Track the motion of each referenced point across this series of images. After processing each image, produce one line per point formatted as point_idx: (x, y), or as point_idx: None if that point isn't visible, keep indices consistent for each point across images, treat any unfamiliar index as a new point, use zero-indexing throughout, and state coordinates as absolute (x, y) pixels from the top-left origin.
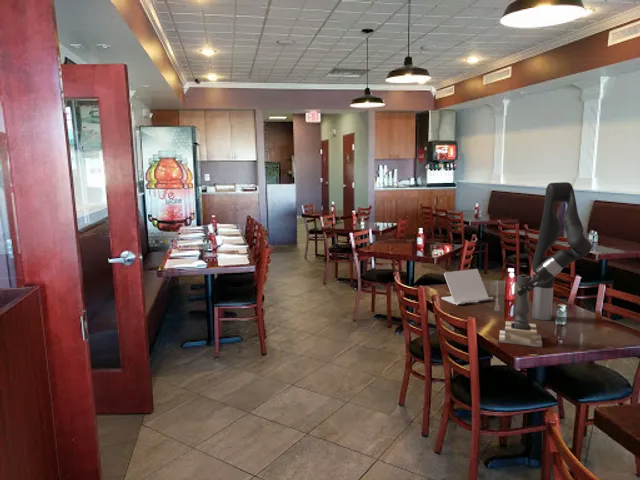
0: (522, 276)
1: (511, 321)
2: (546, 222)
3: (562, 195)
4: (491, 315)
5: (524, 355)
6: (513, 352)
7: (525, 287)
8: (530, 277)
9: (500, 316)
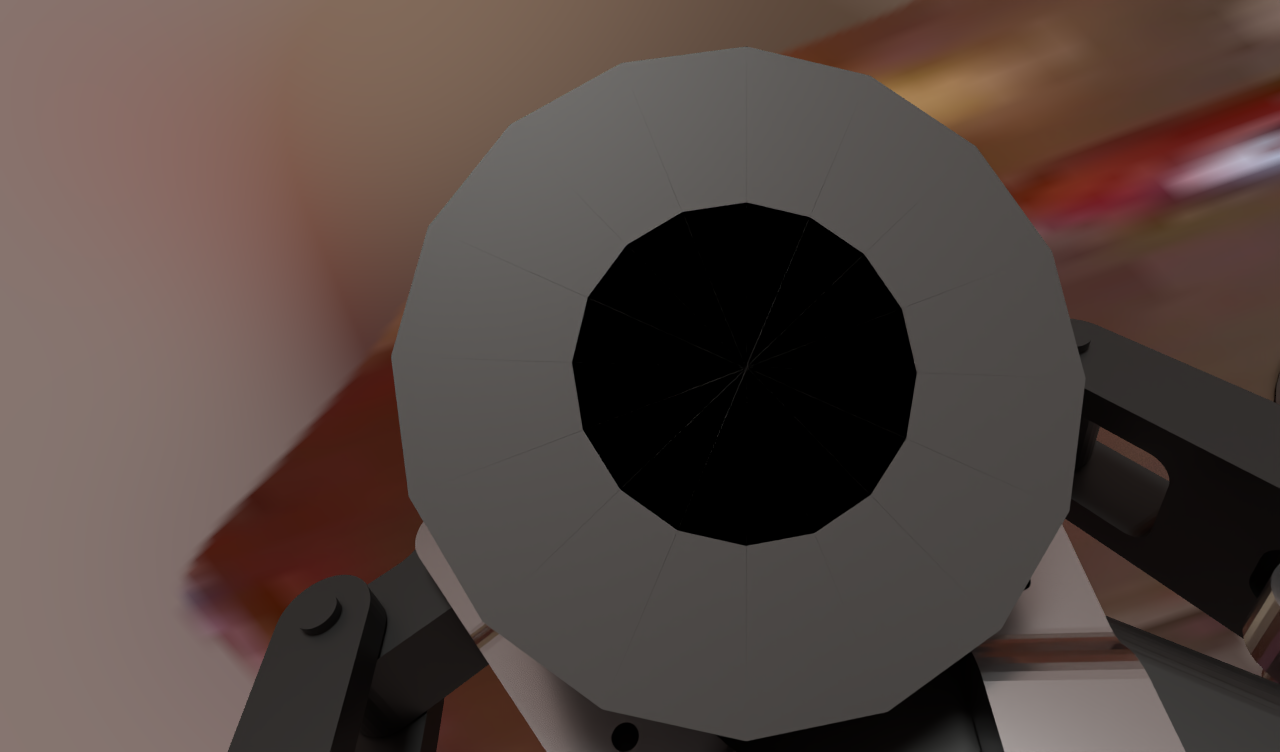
0: (715, 305)
1: None
2: None
3: None
4: (1083, 36)
5: (256, 627)
6: (269, 526)
7: (284, 622)
8: (839, 712)
9: (1114, 106)
